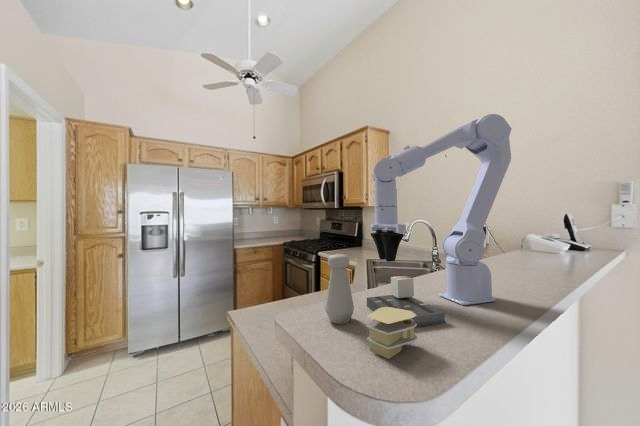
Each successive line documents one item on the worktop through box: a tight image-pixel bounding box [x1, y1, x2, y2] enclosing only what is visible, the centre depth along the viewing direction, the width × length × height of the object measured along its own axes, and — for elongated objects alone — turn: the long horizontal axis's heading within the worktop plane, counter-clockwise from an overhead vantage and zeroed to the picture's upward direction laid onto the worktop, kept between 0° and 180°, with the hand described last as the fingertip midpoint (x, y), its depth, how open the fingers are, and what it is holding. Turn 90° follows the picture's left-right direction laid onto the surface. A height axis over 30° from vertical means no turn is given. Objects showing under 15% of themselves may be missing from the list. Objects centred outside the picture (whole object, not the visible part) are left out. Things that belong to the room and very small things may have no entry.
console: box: [366, 294, 446, 329], centre depth 52 cm, size 10×13×2 cm
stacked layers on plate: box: [366, 307, 418, 360], centre depth 39 cm, size 10×9×6 cm
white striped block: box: [390, 275, 415, 298], centre depth 57 cm, size 4×3×4 cm
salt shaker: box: [324, 253, 355, 325], centre depth 50 cm, size 6×6×13 cm
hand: (387, 260), depth 64 cm, fingers open, 3 cm apart
